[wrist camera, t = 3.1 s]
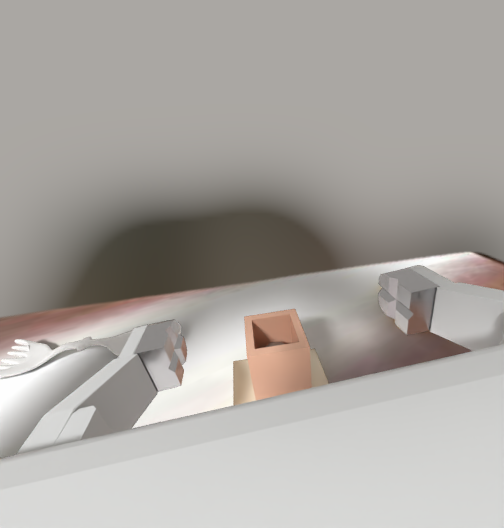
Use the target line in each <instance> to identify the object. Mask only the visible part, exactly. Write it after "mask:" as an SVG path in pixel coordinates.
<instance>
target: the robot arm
mask: <svg viewBox="0 0 504 528" xmlns="http://www.w3.org/2000/svg"><path fill="white" fill-rule="evenodd" d="M379 285H380V286H381V287H382V289H381V290H380V292H379V293H378V302H379V305H380V308H381V309H382V311H383V312H384V313H385V314H386V315H387V316H388V317H391V318H394V319H395V324H396V325H397V326H398V327H399V328H400V329H401V330H402V331H403V332H404V333H405V334H406V335H410V334H415V333H420V332H426V331H430V332H432V333H434V334H436V335H439V336H441V337H443V338H445V339H447V340H450V341H452V342H454V343H456V344H459V345H461V346H463V347H465V348H467V349H470V350H472V352H467V353H463V354H459V355H454V356H450V357H445V358H441V359H436V360H432V361H428V362H423V363H419V364H414V365H410V366H405V367H401V368H396V369H392V370H388V371H383V372H379V373H374V374H370V375H365V376H361V377H357V378H352V379H348V380H343V381H339V382H335V383H330V384H326V385H321V386H317V387H313V388H308V389H304V390H300V391H295V392H291V393H286V394H282V395H278V396H273V397H269V398H265V399H260V400H256V401H251V402H247V403H243V404H238V405H234V406H229V407H225V408H221V409H216V410H212V411H207V412H203V413H199V414H194V415H190V416H185V417H181V418H177V419H172V420H168V421H163V422H159V423H155V424H150V425H146V426H141V427H137V428H133V429H131V428H132V427H133V426H134V424H135V423H136V422H137V420H138V419H139V418H140V416H141V415H142V414H143V412H144V411H145V410H146V408H147V407H148V406H149V404H150V403H151V402H152V400H153V399H154V397H155V396H156V395H157V393H158V392H159V391H163V390H167V389H171V388H175V387H178V386H181V383H182V378H183V373H184V369H183V367H182V365H183V364H184V363H185V361H186V357H187V347H186V343H185V340H184V337H183V336H181V335H180V334H178V333H179V329H180V327H179V325H178V323H177V321H176V320H175V319H173V320H168V321H163V322H158V323H153V324H149V325H143V326H139V327H136V328H134V329H133V331H132V333H131V335H130V337H129V339H128V340H127V342H126V344H125V346H124V348H123V350H122V352H121V353H120V355H119V357H118V358H116V359H113V360H112V361H111V362H109V363H108V364H107V365H106V366H104V367H103V368H102V369H101V370H99V371H98V372H97V373H96V374H94V375H93V376H92V377H91V378H89V379H88V380H87V381H86V382H84V383H83V384H82V385H81V386H79V387H78V388H77V389H76V390H75V391H73V392H72V393H71V394H70V395H68V396H67V397H66V398H65V399H63V400H62V401H61V402H60V403H58V404H57V405H56V406H55V407H53V408H52V409H51V410H50V411H48V412H47V413H46V414H45V415H43V417H42V418H41V420H40V421H39V422H38V424H37V425H36V427H35V428H34V429H33V431H32V432H31V434H30V435H29V437H28V438H27V439H26V441H25V442H24V444H23V445H22V446H21V448H20V449H19V451H18V452H17V454H16V455H13V456H9V457H5V458H0V528H504V291H502V290H497V289H492V288H486V287H481V286H476V285H470V284H465V283H454V282H452V281H450V280H448V279H446V278H445V277H443V276H441V275H439V274H437V273H435V272H433V271H432V270H430V269H428V268H426V267H424V266H421V265H417V266H413V267H409V268H405V269H401V270H397V271H393V272H389V273H385V274H381V275H380V277H379Z"/></svg>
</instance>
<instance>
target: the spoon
mask: <svg viewBox="0 0 504 528" xmlns="http://www.w3.org/2000/svg"><path fill="white" fill-rule="evenodd" d="M177 323H178V325H179V327H180V329H179V333H178V334H181V325H180V323H179V322H177ZM132 331H133V330H132ZM132 331H129V332H126V333H123V334H120V335H117V336H114V337H111V338H104V339H92V338H91V337H86V338H84V339H82V340H80V341H76V342H71V343H66V344H63V345H61V346H59V347H57V348H55V349H53V350H52V349H51V348H50V347H49V346H48V345H47V344H43V343H37V342H32V341H28V340H22V339H18V340H15V342H16V343H17V344H22V345H26V346H13V347H11V348H13V349H16V350H21V351H16V352H7V353H8V354H10V355H14V356H20V357H22V358H7V359H2V360H1V362H4V363H7V364H12V365H5V366H0V378H3V377H9V376H14V375H18V374H22V373H24V372H27V371H30V370H32V369H34V368H37V367H38V366H40V365H42V364H43V363H45V362H46V361H48V360H49V359H51V358H52V357H54V356H55V355H57V354H58V353H60V352H63V351H66V350H71V349H77V351H82V350H84V349H86V348H87V347H89V346H94V345H100V346H104V347H106V348H108V349H109V350H110V351H111V352H113V353H114V354H115V355H116V356H118V357H119V355H120V353H121V352H122V350H123V348H124V346H125V344H126V342H127V340H128V339H129V337H130V335H131V333H132Z"/></svg>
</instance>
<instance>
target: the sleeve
mask: <svg viewBox="0 0 504 528" xmlns="http://www.w3.org/2000/svg"><path fill="white" fill-rule="evenodd" d="M244 321H245V335H246V350H247V359H248V364H249V369H250V374H251V379H252V384H253V389H254V394H255V399H256V400H260V399H265V398H269V397H273V396H278V395H282V394H286V393H291V392H295V391H300V390H304V389H308V388H312V384H311V361H310V346H309V343H308V341H307V338H306V335H305V333H304V330H303V328H302V325H301V323H300V320H299V317H298V315H297V312H296V310H295V309H290V310H284V311H277V312H271V313H265V314H258V315H252V316H246V317H244ZM272 342H282V343H284V345H277V346H271V347H266V346H267V345H268V344H269V343H272Z"/></svg>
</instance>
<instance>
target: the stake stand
mask: <svg viewBox="0 0 504 528" xmlns="http://www.w3.org/2000/svg"><path fill="white" fill-rule="evenodd" d="M277 345H284V343H282V342H272V343H269V344H268V345H267V346H266V347H271V346H277ZM310 361H311V384H312V388H313V387H317V386H321V385H326V384H329V382H328V380H327V377H326V375H325V373H324V370H323V368H322V365H321V363H320V360H319V358H318V355H317V353H316V351H315V349H310ZM233 391H234V405H238V404H243V403H247V402H251V401H256V399H255V394H254V389H253V384H252V379H251V374H250V369H249V364H248V359H245V360H239V361H233Z"/></svg>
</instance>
